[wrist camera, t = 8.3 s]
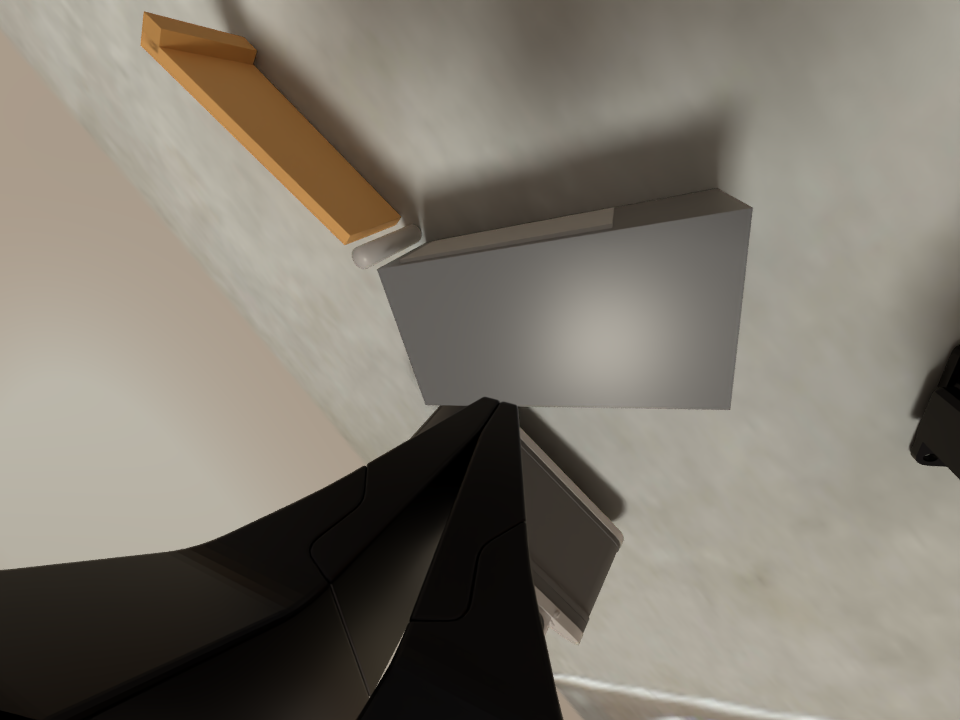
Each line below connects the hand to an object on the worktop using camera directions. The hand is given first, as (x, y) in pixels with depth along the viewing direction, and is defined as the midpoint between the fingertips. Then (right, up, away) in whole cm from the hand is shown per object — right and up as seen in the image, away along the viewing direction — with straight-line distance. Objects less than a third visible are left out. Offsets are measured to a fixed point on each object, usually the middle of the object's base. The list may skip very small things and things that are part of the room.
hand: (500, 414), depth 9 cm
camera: (+2, -7, +19) cm, 21 cm away
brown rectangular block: (-9, +13, +10) cm, 19 cm away
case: (+4, +5, +11) cm, 12 cm away
